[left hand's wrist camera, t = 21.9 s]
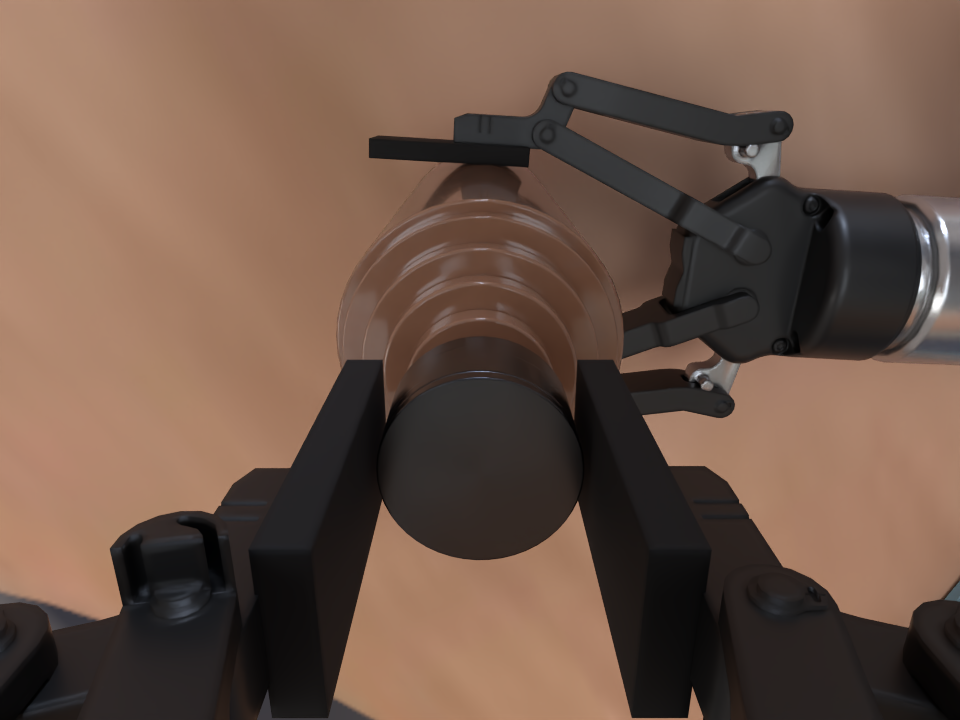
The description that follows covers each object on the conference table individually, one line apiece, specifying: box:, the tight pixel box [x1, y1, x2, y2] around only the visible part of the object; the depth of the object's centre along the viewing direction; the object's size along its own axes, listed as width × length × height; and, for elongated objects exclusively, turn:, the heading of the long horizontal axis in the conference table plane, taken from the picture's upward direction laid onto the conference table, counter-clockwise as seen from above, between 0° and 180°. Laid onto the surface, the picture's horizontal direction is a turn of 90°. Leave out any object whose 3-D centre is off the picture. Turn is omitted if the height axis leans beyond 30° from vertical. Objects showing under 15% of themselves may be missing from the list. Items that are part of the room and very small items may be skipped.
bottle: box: [336, 162, 624, 421], centre depth 25 cm, size 8×8×25 cm
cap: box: [376, 336, 584, 560], centre depth 14 cm, size 4×4×2 cm
